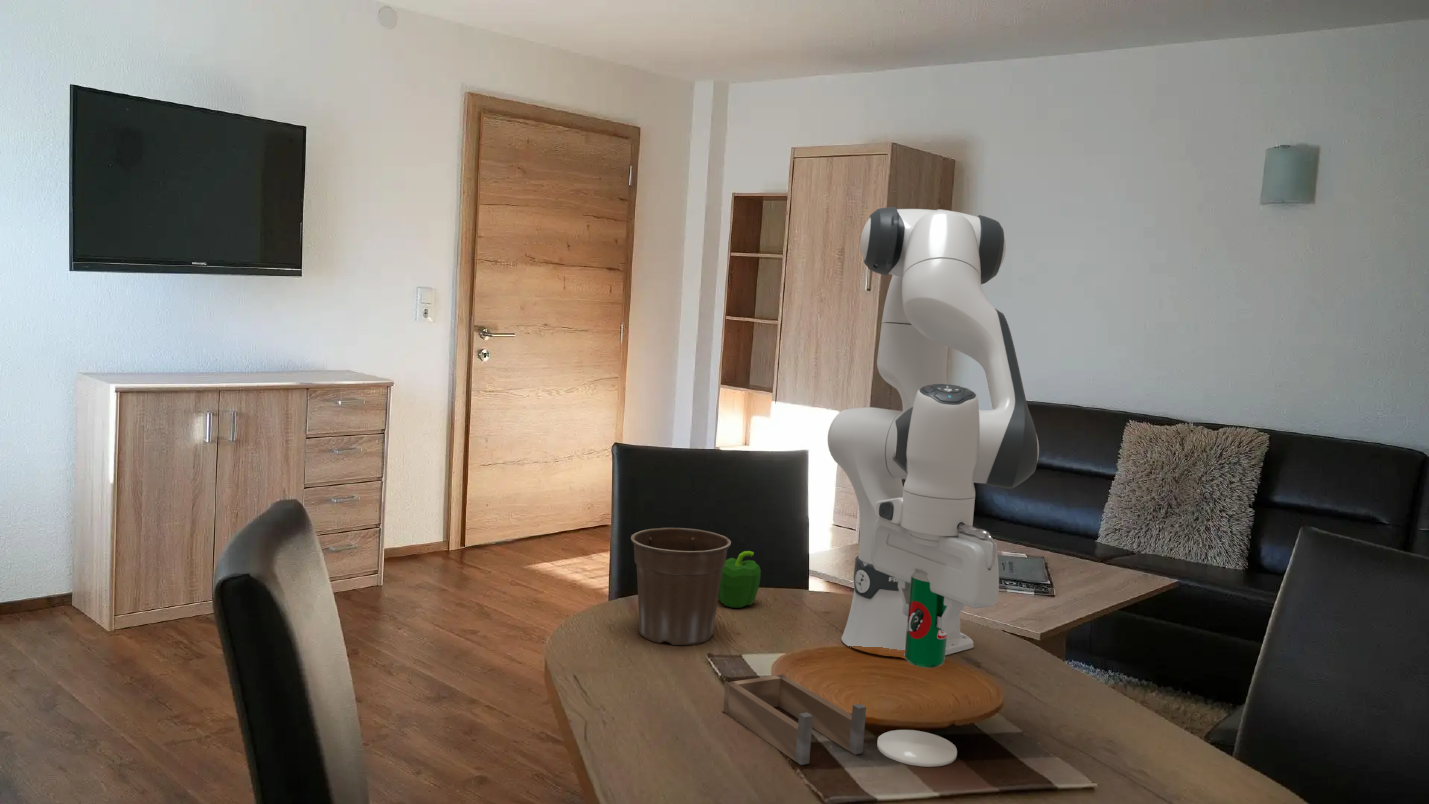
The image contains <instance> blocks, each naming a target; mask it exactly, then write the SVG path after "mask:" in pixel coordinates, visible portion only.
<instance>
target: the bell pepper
mask: <svg viewBox="0 0 1429 804" xmlns="http://www.w3.org/2000/svg"><path fill="white" fill-rule="evenodd" d="M754 553H755V552H754V551H751V550H744V551H742V552H741V553H739V554H738V556H737V558H734V557H730V558H727V559H726V561H725V566H724V568H723V569H722V574H721V580H720V587H719V594H718V601H719V602H720V603H721V604H723V605H724V606H725V607H729V608H739V609H740V608H743V607H745V606H751V605H752V604H753V603H754V601H755V599H756V596H757V593H758V590H759V587H760V584H761V576H762V570H761V568H760V565H759V564H757V562H756V561H755V560H751V559H747V560H743V559H744V558H745V557H750V558H752V557H753V556H754Z"/></svg>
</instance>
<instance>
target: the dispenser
mask: <svg viewBox="0 0 1429 804" xmlns="http://www.w3.org/2000/svg"><path fill="white" fill-rule="evenodd" d="M723 697H724V698H723V710H722V711H723V712H724V713H726V714H727V715H728V716H730V717H731V718H732V719H734V720H735V721H737V722H738V723H739V724H741V725H742V726H744V727H746V728H747V729H748V730H750V731H751V732H753V733H755V735H757V736H758V737H759V738H761V739H762V740H764V741H766V742H767V743H768V744H770V745H772V746H773V747H774V748H775V749H777V750H779V751H780V752H781V753H783V754H784V755H786V756H787V757H789V758H790V759H791V760H793V761H794V762H796V763H798V765H799V766H804V765H808V764H809V765H810V756H811V741H812V733H813V732H812V731H813V729H814V730H816V731H817V732H818V733H820V734H821V735H823V736H824V737H826V738H828V739H829V740H831V741H832V742H834V743H836V744H837V745H839V746H840V747H842V748H844V749H845V750H847V751H848V752H850V753H852V754H853V755H860V754H863V752H864V751H863V750H864V739H865V727H866V725H865V724H866V717H867V715H866V714H867V706H865V705H863V704H861V703H855V704H852V709H851V711H852V712H851V713H849V711H846V710H844V709H843V708H841V707H840V706H838V705H836V704H834V703H833V702H832V701H831V702H830V701H829V700H827V699H825V698H824V697H823V696H821V695H819V694H818V693H816V692H814V691H813V690H810V689H809V688H807V687H806V686H803V685H802V684H801V683H799V682H797V681H795V680H794V679H791V678H790V677H788V676H786V675H785V674H777V675H770V676H768V675H767V676H762V677H754V678H748V679H741V680H735V681H729V682H728V681H727V682H724V696H723ZM777 707H779V708H780V709H782V710H784V711H785V712H787V713H788V714H789V715H792V716H793V717H794V718H797V719H798V721H795V720H793V719H792V718H790V717H789V716H788V715H787V714H785V713H783V712H781V711H780V710H778V709H776V708H777Z"/></svg>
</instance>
